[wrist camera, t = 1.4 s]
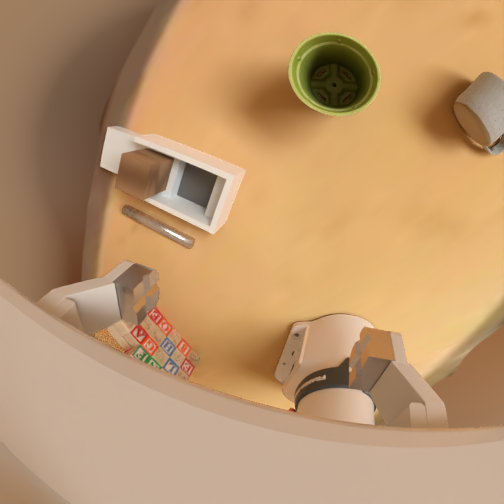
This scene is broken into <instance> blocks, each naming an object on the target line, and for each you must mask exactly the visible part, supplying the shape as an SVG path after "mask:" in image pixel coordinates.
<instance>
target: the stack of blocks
mask: <svg viewBox="0 0 504 504" xmlns="http://www.w3.org/2000/svg"><path fill="white" fill-rule="evenodd" d="M146 313H147V317H146V318H145V319H144V320H143V321H142V322H141V324H140V325H139V326H137V325H134V324H132V323H129V322H127V321H124V320H122V319H121V321H119V322H117V323H114V324H112V325H110V326H108V327H106V329H107V331H108V332H109V333H110V334H111V335H112V336H113V338H114V339H115V340H116V341H117V342H118V343H119V344H120V345H121V347H122V348H123V349H124V350H126V351H125V352H124V353H125V354H127V355H129V356H131V357H133V358H135V359H138V360H140V361H142V362H144V363H147V364H149V365H151V366H153V367H156V368H158V369H161V370H163V371H165V372H168V373H170V374H173V375H175V376H178V377H180V378H183V379H186V380H188V379H189V377H190V375H191V373H192V371H193V369H194V367H195V366H196V364H197V363H198V361H199V359H200V357H199V356H198V355H197V354H196V353H195V352H194V351H193V350H192V349H191V347H190V346H189V345H188V344H187V343H186V342H185V340H184V339H183V338H182V337H181V336H180V335H179V333H178V332H177V331H176V330H175V329H174V328H173V327H172V326H171V325H170V324H169V322H168V321H167V320H166V319H165V318H164V317H163V316H162V314H161V313H160V312H159V311H158V309H157V308H156V307H154V308H153V310H150V311H147V312H146Z"/></svg>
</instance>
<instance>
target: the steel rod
mask: <svg viewBox="0 0 504 504" xmlns="http://www.w3.org/2000/svg"><path fill="white" fill-rule="evenodd" d="M122 213H123V214H124V215H126V216H128V217H130V218H132V219H134V220H135V221H137V222H139V223H141V224H143V225H145V226H147V227H149V228H151V229H153V230H154V231H156V232H158V233H160V234H162V235H164V236H166V237H168V238H170V239H172V240H174V241H176V242H178V243H180V244H182V245H183V246H185V247H187V248H189V249H191V248H192V247H193V244H194V241H195V238H193V237H191V236H189V235H187V234H185V233H183V232H181V231H179V230H177V229H175V228H173V227H171V226H169V225H167V224H165V223H163V222H161V221H159V220H157V219H155V218H153V217H151V216H149V215H147V214H145V213H143V212H141V211H139V210H137V209H135V208H133V207H131V206H129V205H125V206H124V208H123V210H122Z"/></svg>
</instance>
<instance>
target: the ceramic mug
mask: <svg viewBox="0 0 504 504" xmlns="http://www.w3.org/2000/svg"><path fill="white" fill-rule="evenodd" d="M453 109H454V114H455V116H456V118H457V120H458V122H459V123H460V125H461V126H462V128H463V129H464V130H465V131H466V133H467V134H468V135H469V136H470V137H471V138H472V139H473V140H474V141H476V142H477V143H479V144H480V145H482V147H483V148H484V149H485V150H486V151H487V152H489V153H490V154H492V155H498V154H500V153H501V152H503V151H504V81H503V80H502V79H501V78H499V77H498V76H496V75H494V74H493V73H490V72H483V73H481V74H480V75H479V76H478V78H477V79H476V80H475V81H473V82H472V83H471V84H470V85H469V87H468V88H467V89H466V90H465V91H464V92H462V93H461V94H460V95H459V96H458V98H457V99H456V101H455V102H454V105H453ZM501 135H502V138H501V140H500V142H499V143H498V144H496V145H495V146H494V147H492V148H491V149H489V148H488V145H490V144H492V143H494V142H495V141H496V140H497V139H498V138H499V137H500V136H501Z"/></svg>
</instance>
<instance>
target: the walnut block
mask: <svg viewBox="0 0 504 504" xmlns="http://www.w3.org/2000/svg"><path fill="white" fill-rule="evenodd" d="M173 162H174V158H171V157H169V156H166V155H164V154H161V153H159V152H156V151H154V150H151V149H149V148H145V149H140V150H135V151H131V152H126V153H122V155H121V160H120V164H119V169H118V175H117V180H116V186H115V188H117V189H119V190H121V191H123V192H125V193H127V194H129V195H131V196H133V197H135V198H138V199H140V200H142V201H143V200H145V199H147V198H150V197H152V196H154V195H156V194H158V193H160V192H162V191H165V190H166V187H167V183H168V180H169V176H170V172H171V169H172V165H173Z"/></svg>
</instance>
